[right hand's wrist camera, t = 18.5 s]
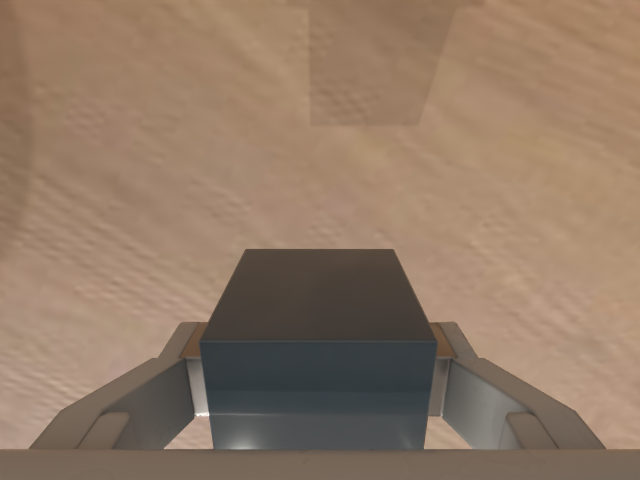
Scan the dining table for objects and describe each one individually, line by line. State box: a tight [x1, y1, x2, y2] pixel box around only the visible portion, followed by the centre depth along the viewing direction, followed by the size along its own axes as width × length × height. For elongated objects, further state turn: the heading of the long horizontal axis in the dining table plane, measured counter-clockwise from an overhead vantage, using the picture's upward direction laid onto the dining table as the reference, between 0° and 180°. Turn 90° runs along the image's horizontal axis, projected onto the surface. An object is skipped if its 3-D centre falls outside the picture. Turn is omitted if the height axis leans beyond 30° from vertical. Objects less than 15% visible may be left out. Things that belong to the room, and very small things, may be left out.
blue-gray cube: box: [199, 249, 438, 449], centre depth 10 cm, size 5×5×5 cm
